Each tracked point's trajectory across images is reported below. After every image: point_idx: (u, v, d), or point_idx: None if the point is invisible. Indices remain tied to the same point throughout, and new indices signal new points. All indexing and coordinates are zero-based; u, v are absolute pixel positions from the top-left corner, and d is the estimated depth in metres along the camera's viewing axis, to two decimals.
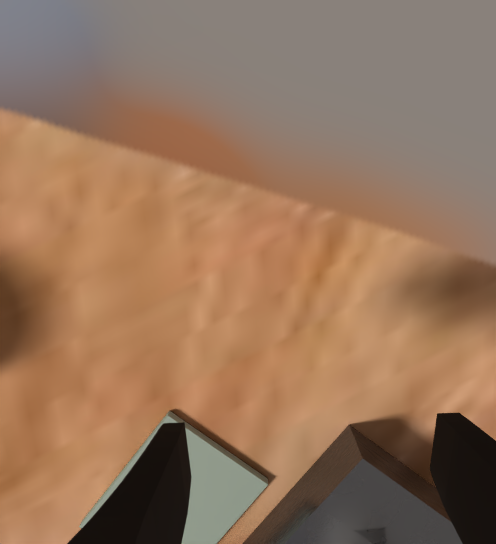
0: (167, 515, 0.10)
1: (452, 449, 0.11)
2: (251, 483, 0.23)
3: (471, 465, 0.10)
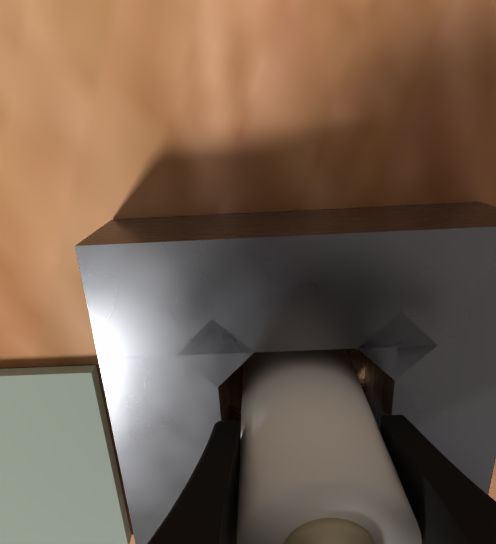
0: (232, 513, 0.10)
1: (392, 451, 0.11)
2: (72, 385, 0.15)
3: (405, 467, 0.10)
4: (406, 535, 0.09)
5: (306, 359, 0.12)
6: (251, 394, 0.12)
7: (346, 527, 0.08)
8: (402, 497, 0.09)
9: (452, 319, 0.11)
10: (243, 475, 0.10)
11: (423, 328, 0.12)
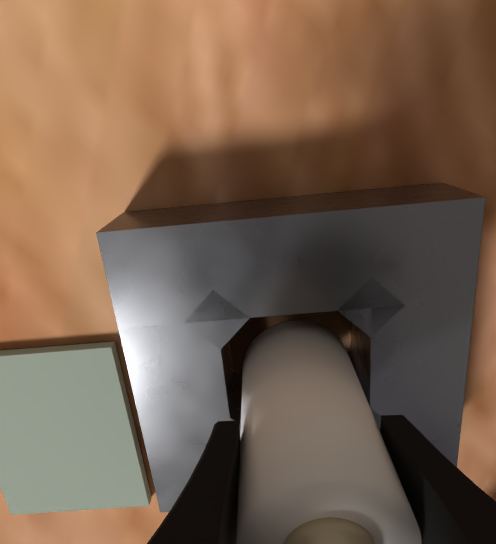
0: (232, 513, 0.10)
1: (391, 451, 0.11)
2: (95, 359, 0.17)
3: (405, 467, 0.10)
4: (405, 534, 0.09)
5: (306, 358, 0.12)
6: (250, 394, 0.12)
7: (345, 527, 0.08)
8: (401, 496, 0.09)
9: (416, 282, 0.13)
10: (243, 475, 0.10)
11: (392, 291, 0.14)
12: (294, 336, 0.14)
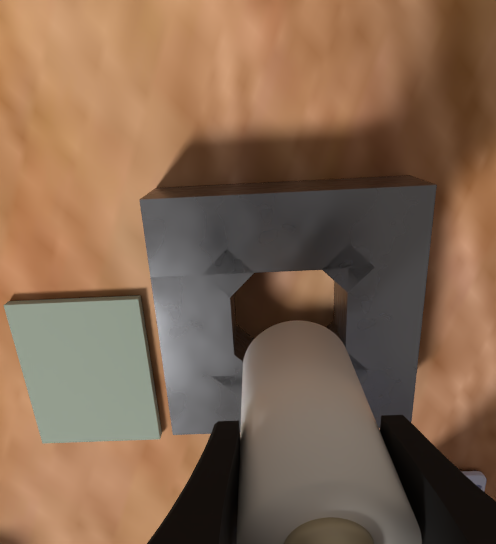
0: (232, 513, 0.10)
1: (391, 451, 0.11)
2: (124, 309, 0.21)
3: (405, 467, 0.10)
4: (406, 535, 0.09)
5: (306, 358, 0.12)
6: (250, 394, 0.12)
7: (346, 527, 0.08)
8: (402, 497, 0.09)
9: (383, 249, 0.17)
10: (243, 475, 0.10)
11: (364, 255, 0.18)
12: (294, 336, 0.14)
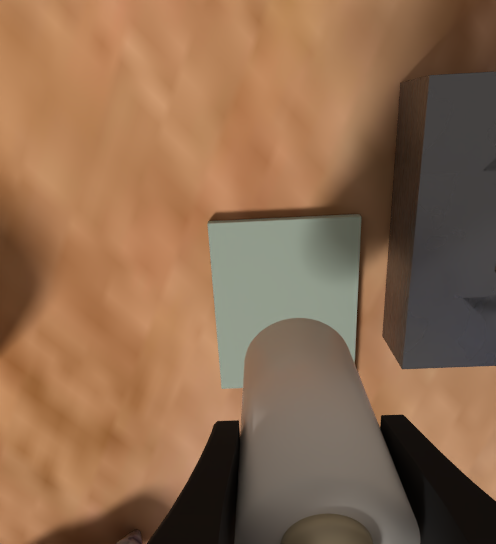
0: (232, 513, 0.10)
1: (392, 451, 0.11)
2: (343, 228, 0.19)
3: (405, 467, 0.10)
4: (405, 533, 0.09)
5: (308, 355, 0.12)
6: (252, 389, 0.12)
7: (345, 523, 0.08)
8: (401, 495, 0.09)
9: None
10: (242, 469, 0.10)
11: None
12: (296, 333, 0.14)
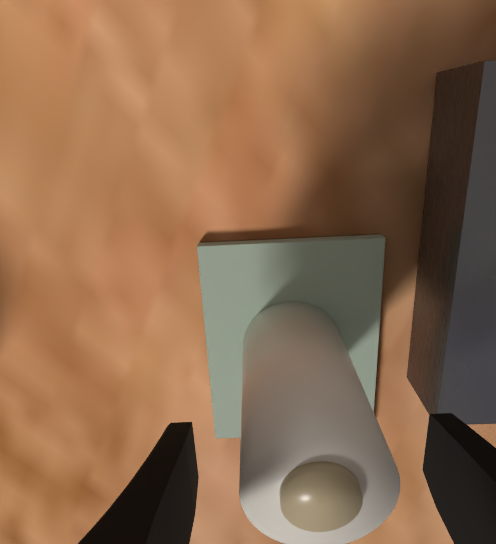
0: (176, 515, 0.10)
1: (444, 449, 0.11)
2: (363, 252, 0.15)
3: (462, 465, 0.10)
4: (386, 477, 0.10)
5: (302, 333, 0.14)
6: (251, 364, 0.14)
7: (335, 468, 0.10)
8: (384, 444, 0.10)
9: None
10: (245, 429, 0.11)
11: None
12: (291, 314, 0.15)
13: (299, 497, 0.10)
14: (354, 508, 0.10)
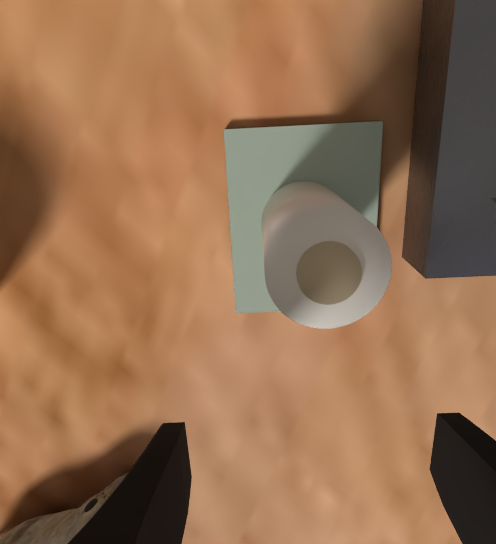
0: (167, 515, 0.10)
1: (452, 449, 0.11)
2: (364, 134, 0.18)
3: (471, 465, 0.10)
4: (381, 258, 0.13)
5: (313, 188, 0.17)
6: (271, 212, 0.16)
7: (340, 244, 0.13)
8: None
9: None
10: (268, 237, 0.14)
11: None
12: (303, 183, 0.18)
13: (312, 269, 0.13)
14: (355, 281, 0.13)
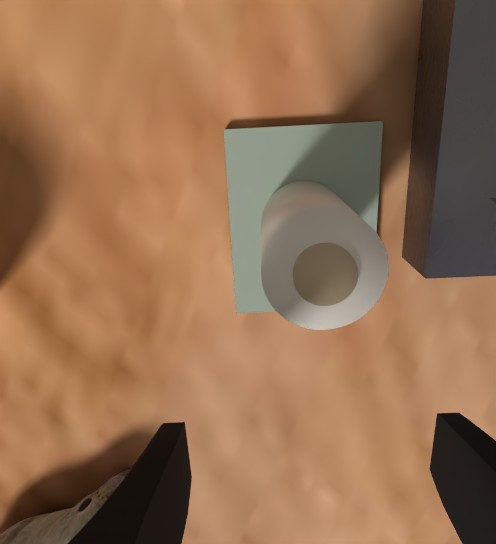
0: (167, 515, 0.10)
1: (452, 449, 0.11)
2: (364, 134, 0.18)
3: (471, 465, 0.10)
4: (378, 261, 0.13)
5: (313, 188, 0.17)
6: (270, 211, 0.16)
7: (337, 246, 0.13)
8: None
9: None
10: (266, 236, 0.14)
11: None
12: (304, 184, 0.18)
13: (308, 270, 0.13)
14: (351, 284, 0.13)
